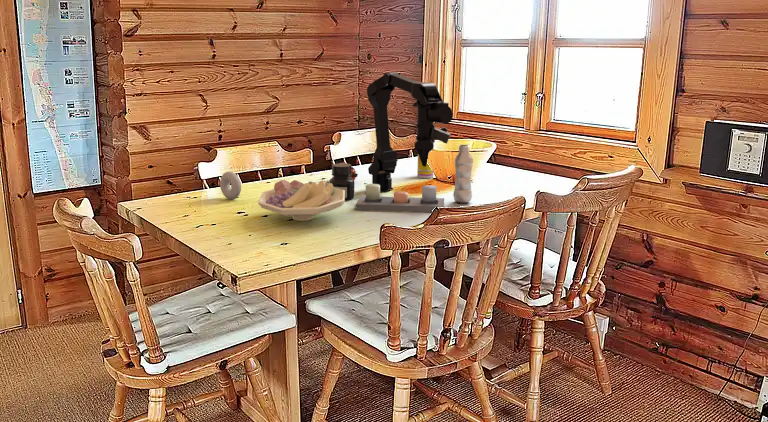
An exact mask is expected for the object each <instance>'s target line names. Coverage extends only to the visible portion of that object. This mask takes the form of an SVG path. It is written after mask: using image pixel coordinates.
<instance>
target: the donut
mask: <svg viewBox="0 0 768 422" xmlns="http://www.w3.org/2000/svg"><path fill="white" fill-rule="evenodd" d="M219 186H220V190H221V193H222V195H223V196H224V197H225V198H226V199H228V200H236V199H237V198H238V197H239V196H240V194H241V191H242V183H241V180H240V178H239V176H238V175H237V174H236V173H235V172H233V171H226V172H224V173H222V175H221V177H220V180H219Z"/></svg>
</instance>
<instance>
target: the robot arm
mask: <svg viewBox="0 0 768 422" xmlns="http://www.w3.org/2000/svg"><path fill="white" fill-rule="evenodd" d="M396 88H397V89H400V90H402V91H405V92H407V93H409V94H410V96H411V97H412V98H413V99H415V100H416V101H415V102H413V104H412V107H415V108H416V137H415V138H416V141H414V150H416V153H417V156H418V155H419V157H420V160H421V163H422V165H423V166H426V164H427V159H428V155H429V152H430V151H431V152H432V150H434V147H435V145H434V143H435V142H436V141H437V140H438V141H440V142H442V143H444V144H448V142H449V140H450V136H451V133H450V132H448V128H447V127H444V126H442V127H441V128H438V127H435V126H436V125H435V123H437V124H445V125H447V124H449V123H451V121H452V120H453V118H454V112H453V110H452V108H451V107H450V106H449V104H450V103H449V102H444V100H443V98H442V97H441V94H440V92H439V90H438V88H437V85H436V83H434V82H426V81H424V82H423V81H417V80H414V79H411V78H409V77H407V76H405V75H401V74H399V73H397V72H386V73H384V74H383V75H382V76H380V77H379V78H377V79H375V80H374V81H372V82H370V83H369V84H368V86H367V87H366V93H367V98H368V102H369V104H370V105H371V106H372V108H373V116H374V117H373V119H374V128H375V139H376V141H375V142H376V148H375V150H374V152H373V156H372V157H373V158H372V159H373V161H372V163H371V164H370V165H369V166H368V168H367V171H368V174H369V175H370V176H371V175H372V176H371V177H372V179H371V181H372V183H371V184H379V185H380V193H382V192H383V193H386V192H388V191H391V190H393V185H392V184H393V179H392V174H394V173H395V171H396V167H397V164H398V162H399V161H398V156H397V154H398V153H397V150H394V149H393V147H392V146H391V140H390V139H391V138H390V126H389V115H388V113H389V112H388V107H389V106H388V105H389V103H390V101H391V94H392V92H393V91H394V90H395V89H396Z"/></svg>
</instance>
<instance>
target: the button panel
mask: <svg viewBox="0 0 768 422" xmlns="http://www.w3.org/2000/svg"><path fill="white" fill-rule="evenodd" d="M435 207H444V208H445V198H443V197H436V201H423V200H422V197H414V196H413V197H411V196H410V197H409V196H408V204H407V203H394V196H380V199H377V200H369V199H366V195H360V197H359V198H358V199H357V201H356V203H355V211H375V212H376V211H377V212H379V211H381V212H404V211H411V212H410V213H433V212H432V210H433V209H434V208H435ZM415 211H417V212H415Z"/></svg>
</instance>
